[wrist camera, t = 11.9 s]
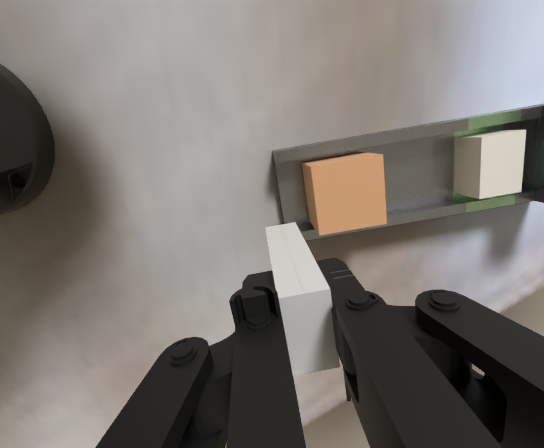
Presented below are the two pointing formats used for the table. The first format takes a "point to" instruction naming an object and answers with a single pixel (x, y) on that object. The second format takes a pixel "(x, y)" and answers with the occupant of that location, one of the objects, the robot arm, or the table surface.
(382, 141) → the base
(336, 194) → the tan cardboard-like brick
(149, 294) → the table surface
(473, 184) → the cream white block
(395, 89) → the table surface
